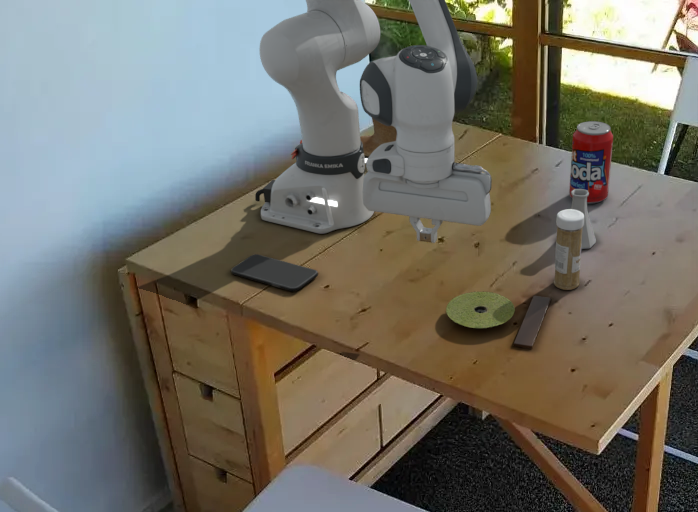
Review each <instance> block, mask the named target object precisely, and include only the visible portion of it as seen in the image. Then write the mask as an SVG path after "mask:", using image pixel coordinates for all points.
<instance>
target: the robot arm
mask: <svg viewBox="0 0 698 512" xmlns="http://www.w3.org/2000/svg"><path fill="white" fill-rule="evenodd" d="M305 2H306V8H307V10H306V12H304V13H301V14H297V15H295V16H291V17H289V18H285V19H283V20H281V21H280V22H278V23H277V24H276V25H274V26H273V27H271V28H270V29H268V30H267V31H266V32H264V34H263V35H262V37H261V39H260V42H259V48H258V49H259V56H260V57H259V58H260V62H261V65H262V67H263V69H264V71H265V73H266V74H267V76H268V77H270V78H271V80H272V81H274V82H275V83H277V84H279V85H280V86H282V87H284V89H285V90H286V91H287V92H288V93H289V95H290V97H291V98H292V100H293V103H294V106H295V108H296V111H297V116H298V122H299V128H300V129H299V130H300V135H301V139H300V141H299V144H298V145H296V146H295V148H294V150H293V152H291V154H290V155H291V160H294V159H295V160H296V161H295V162H294V163H293V164H291V165H290V166H289V167H288V168H287V169H286V170H284V171H283V172H282V173H280V174H279V176H278V177H277V178H276V179H272V180H270V182H268V183H267V184H266V185H264V187H263V188H261V189H259V190H257V191H256V192H255V197H254V199H255V200H254V201H255V202H261V197H260V196H261V195H263V199H264V204H263V205H262V206H261V209H260V219H261V220H262V221H266V222H269V223H273V224H278V225H282V226H285V227H290V228H294V229H298V230H303V231H307V232H311V233H315V234H321V235H322V234H327V233H331V232H333V231H335V230H340V229H347V228H351V227H355V226H357V225H360V224H362V223H365V222H366V221H368V220H369V219H370V218H372V217H373V215H374V213H375V212H376V213H383V214H391V215H396V216H403V217H404V216H405V217H409V223H410V225H411V226H412V228H413V230H414V231H415V232H416V241H417V242H426V243H431V244H435V243H436V242H437V240H438V230H439V228H440V227H441V225H442V224H443V222H449V223H456V224H463V225H470V226H477V227H478V226H480V227H482V226H483V225H484V224H486V222H487V221H488V220H489V219H490V216H491V213H492V207H491V205H492V204H491V194H490V192H491V191H492V181H493V180H492V175H491V174H490V172H489V171H488V170H487V169H484V168H483V166H481V165H477V164H475V165H471V164H467V163H461V162H455V161H456V160H455V152H456V151H455V149H456V147H455V144H456V143H455V134H454V132H453V120H454V118H455V117H454V116H455V114H459V113H462V112H463V111H464V110H465V109H466V108H467V107H468V106H469V104H470V103H471V101H472V100H473V98H474V96H475V94H476V92H477V89H478V75H477V74H478V73H477V70H476V67H475V65H474V62H473V60H472V57H470V55H469V53H468V51H467V50H466V47H465V46H464V44H463V42H462V40H461V37H460V35H459V33H458V30H457V28H456V25H455V23H454V20H453V18H452V15H451V13H450V10H449V7H448V5H447V2H446V0H408V2H409V4H410V6H411V9H412V11H413V14H414V16H415V18H416V22H417V24H418V27H419V29H420V31H421V34H422V37H423V39H424V41H425V43H426V45H423V44H416V45H410V46H406V47H404V48H402V49H401V50H399V51H398V52H397V54H396V55H393V56H387V57H382V58H377V59H375V60H373V61H369V63H368V64H367V65H366V66H365V68H364V69H363V71H362V74H361V76H360V79H359V95H360V103H361V106H362V109H363V111H364V112H365V113H366V114H367V115H368V116H369V117H370V118H371V119H372V118H373V119H375V120H376V121H378V122H380V123H382V124H384V125H386V126H394V127H395V128H396V130H397V137H396V141H394V142H389V143H384V144H381V145H380V146H379V147H377V148H376V149H375V150H374V151H373V152H372V153H371V155H370V156H369V157H368V156H367V157H366V156H364V149H363V143H362V141H361V140H360V136H361V132H360V131H361V128H360V118H359V107H358V104H357V102H356V101H355V99H353V97H351V96H350V95H349V94H347V93H346V92H343V91H340V88H339V85H338V82H337V72H338V71H340V70H343V69H345V68H348V67H350V66H353V65H355V64H358V63H360V62H361V61H362V60H364V59H365V58H366V57H368V56H369V55H370V54H371V53H372V52H374V51H375V50H376V48H377V47H378V45H379V44H380V40H381V27H380V22H379V19H378V16H377V15H376V13H375V11H374V10H373V9H372V8H371V7H370V6H369V5H368V4H367V3H365V2H364V1H363V0H305ZM366 170H367V172H366ZM365 172H366V173H365ZM421 219H427V220H431V225H433V226H434V227H425V226H424V225H423V222H422V220H421Z"/></svg>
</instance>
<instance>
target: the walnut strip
mask: <svg viewBox="0 0 698 512" xmlns="http://www.w3.org/2000/svg"><path fill="white" fill-rule="evenodd" d="M551 301H552V297H548V296H541V295H533V297H532V299H531V301H530V304H529V306H528V309H527V311H526V314H525V316H524V317H523V321H522V323H521V325H520V327H519V330H518V332H517V335H516V337H515V339H514V342H513V347H514V348H515V347H516V348H523V349H529V350H530V349H531V350H533V349H534V348H533V347H534V345H535V342H536V340H537V338H538V335H539V332H540V330H541V327H542V324H543V323H544V320H545V317H546V314H547V312H548V309H549V307H550V305H551Z"/></svg>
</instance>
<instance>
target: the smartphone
mask: <svg viewBox="0 0 698 512" xmlns="http://www.w3.org/2000/svg"><path fill="white" fill-rule="evenodd" d="M230 273H231V275H233V276H234V275H235V276H238V277H241V278H244V279H248V280H251V281H255V282H258V283H260V284H261V283H262V284H264V285H269V286H271V287H276V288H279V289H282V290H285V291H289V292H297V291H299V290H301V289H302V288H303V287H304V286H306V285H307V284H309V283H311V281H312V280H315V278H317V277H318V275H319V272H318V270H316V269H313V268H310V267H307V266H302V265H298V264H295V263H291V262H288V261H283V260H280V259H277V258H272V257H269V256H267V255H261V254H258V253H257V254H252V255H249V257H247V258H245V259H244V260H242V261H240V262H239V263H238V264H236V265H234V267H232V268H231V270H230Z"/></svg>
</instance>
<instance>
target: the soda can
mask: <svg viewBox="0 0 698 512" xmlns="http://www.w3.org/2000/svg"><path fill="white" fill-rule="evenodd" d="M571 143H572V144H571V158H570V172H569V173H570V175H569V190H568V191H569V192H568V193H569V196H570V198H573V196H572V194H571V192H572V191H573V190H574V189H585V190H588V192H589V195H588V196H587V205H594V204H598V203H600V202H602V201H605V200H606V199H607V198H608V196H609V191H610V178H611V169H612V158H613V157H612V156H613V144H614V134H613V133H612V130H611V126H610V125H609V124H608V123H605V122H602V121H597V120H596V121H595V120H589V121H584V122H580V123H579V124H577V125H576V130H575V131H574V132H573V134H572V142H571Z"/></svg>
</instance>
